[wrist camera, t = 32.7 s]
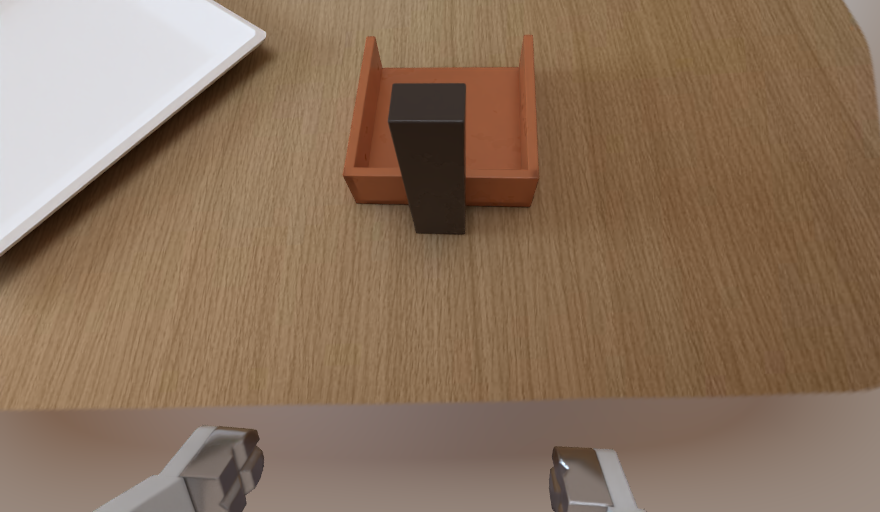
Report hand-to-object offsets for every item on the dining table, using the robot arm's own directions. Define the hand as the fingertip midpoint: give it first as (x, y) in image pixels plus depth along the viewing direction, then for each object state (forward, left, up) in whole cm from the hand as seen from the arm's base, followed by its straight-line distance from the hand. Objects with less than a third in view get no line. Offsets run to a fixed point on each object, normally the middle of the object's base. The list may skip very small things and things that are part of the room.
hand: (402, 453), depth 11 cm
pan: (-6, -18, -10) cm, 22 cm away
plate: (+22, -33, -10) cm, 41 cm away
